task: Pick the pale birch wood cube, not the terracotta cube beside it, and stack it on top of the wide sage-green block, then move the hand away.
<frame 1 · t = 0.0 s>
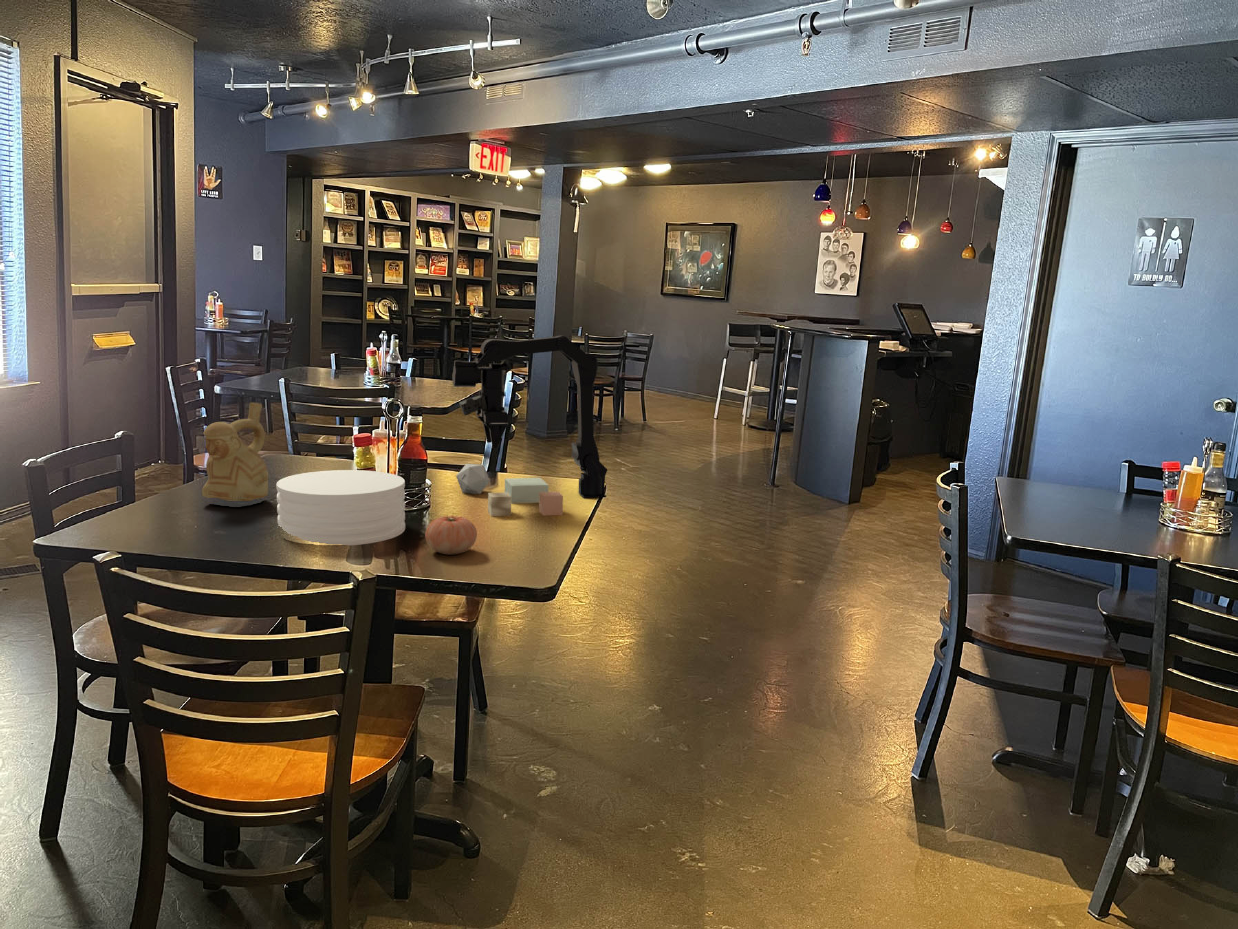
hand: (491, 445, 245), 15 cm above the table, tool pointing down, fingers open, 9 cm apart
die: (472, 493, 255), on the table
plate stack: (342, 531, 211), on the table
birch cube: (499, 514, 231), on the table
ceramic vessel: (240, 503, 233), on the table
terracotta cube: (550, 513, 234), on the table
sage block: (526, 499, 249), on the table
pumpkin: (451, 553, 196), on the table
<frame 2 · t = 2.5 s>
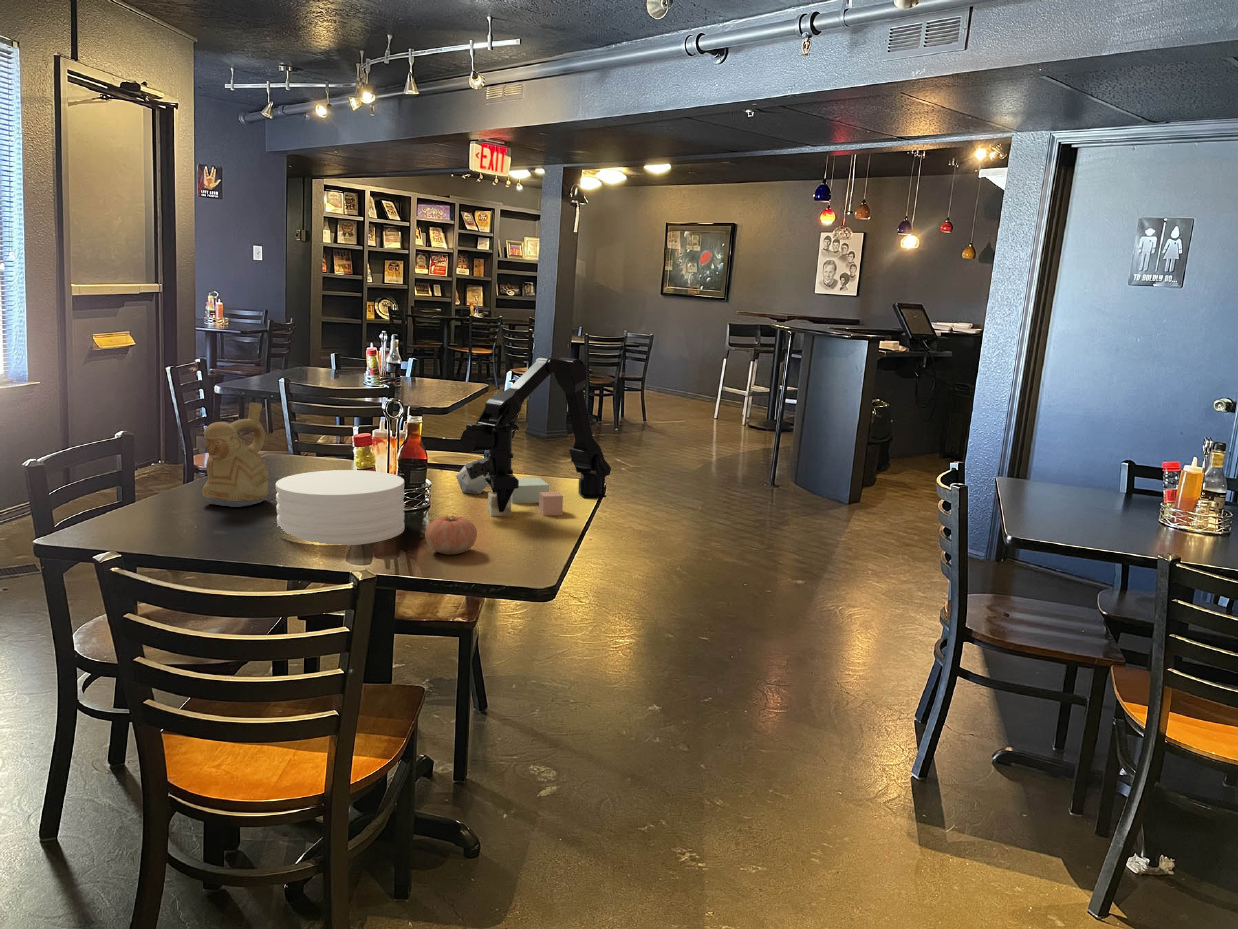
hand: (499, 509, 231), 1 cm above the table, tool pointing down, fingers closed on birch cube, 5 cm apart
birch cube: (499, 513, 231), on the table, touching gripper
everything else where it was.
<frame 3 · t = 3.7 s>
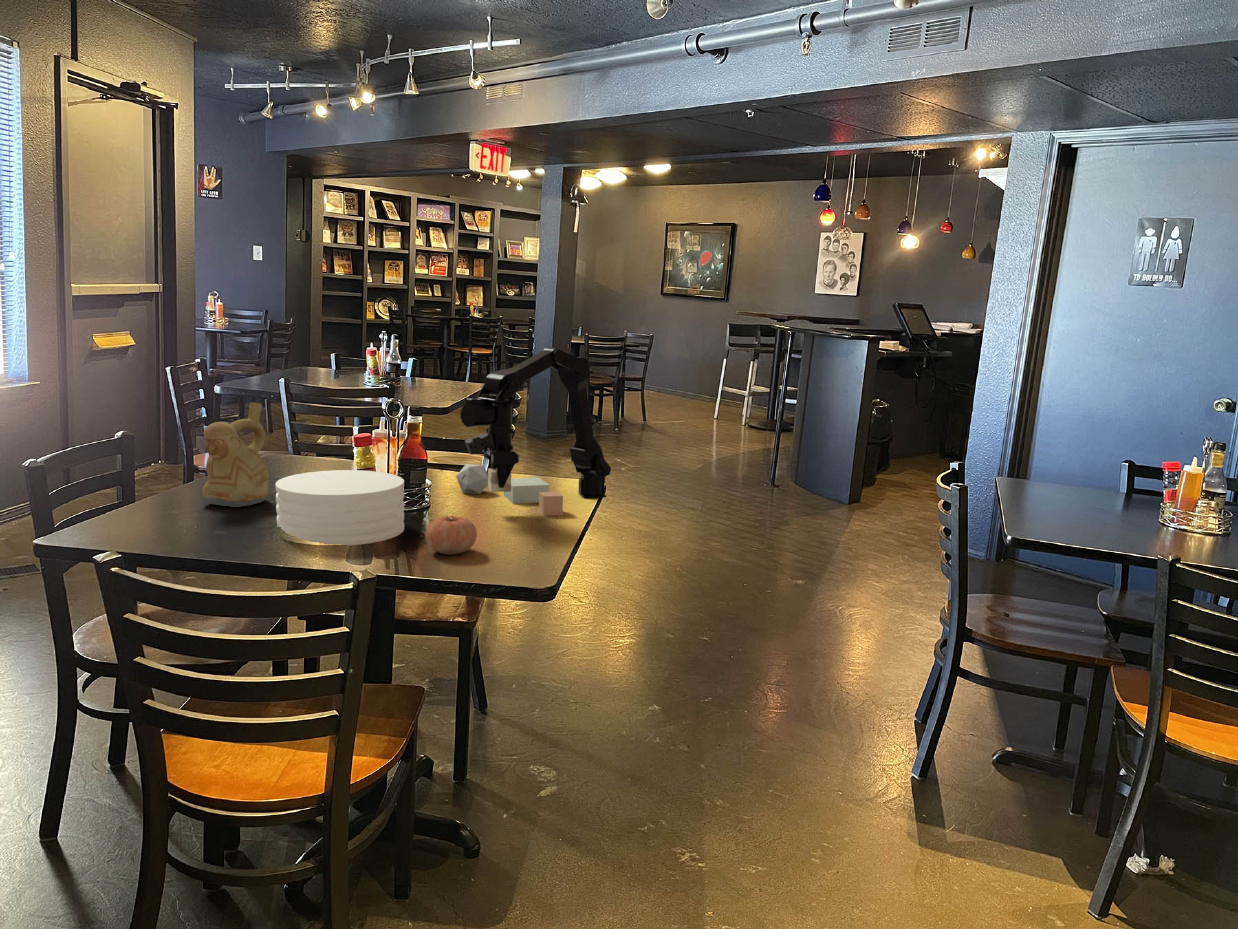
hand: (499, 485, 230), 7 cm above the table, tool pointing down, fingers closed on birch cube, 5 cm apart
birch cube: (499, 489, 230), point 6 cm above the table, touching gripper
everything else where it was.
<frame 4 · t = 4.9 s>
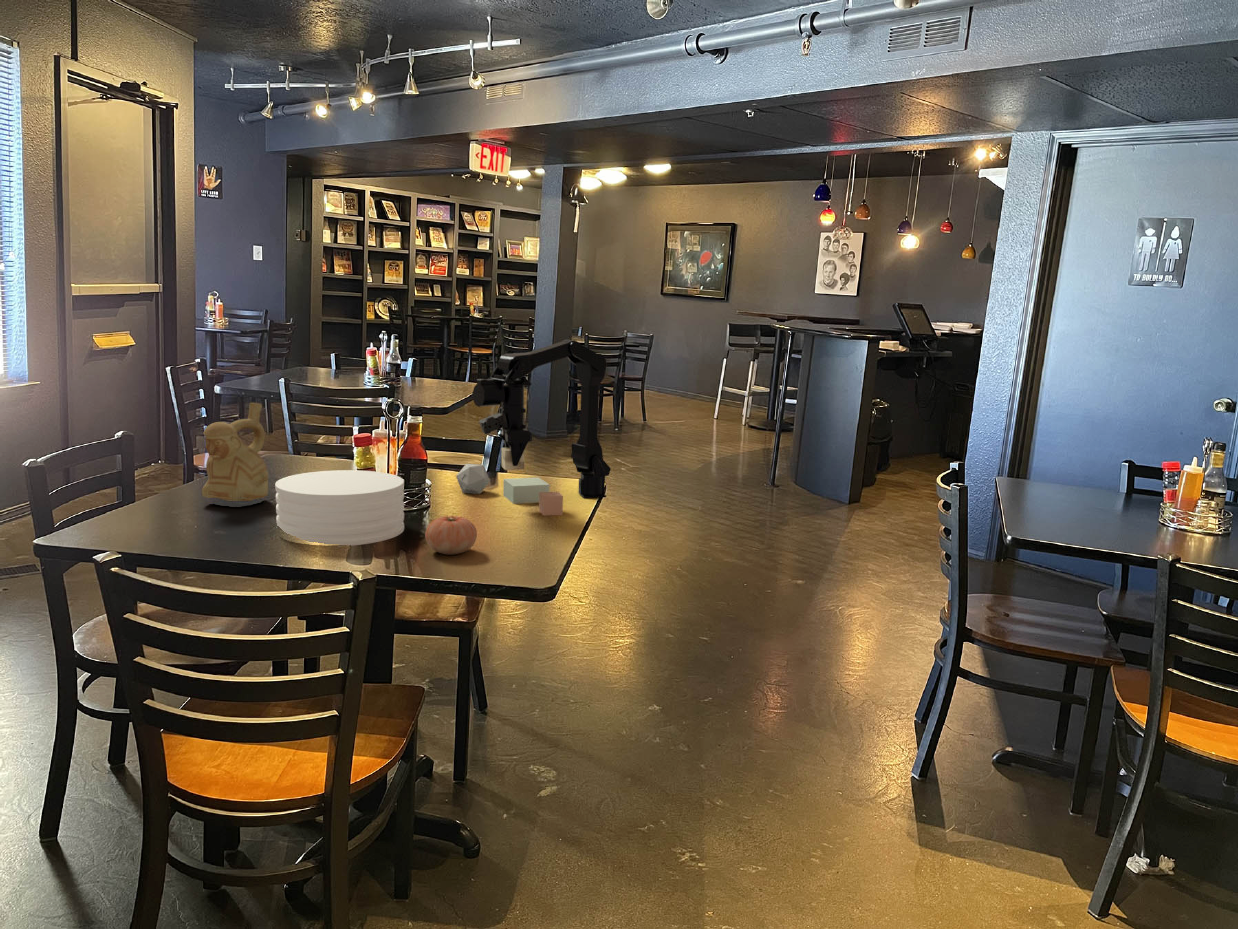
hand: (513, 463, 237), 11 cm above the table, tool pointing down, fingers closed on birch cube, 5 cm apart
birch cube: (512, 467, 237), point 10 cm above the table, touching gripper
everything else where it was.
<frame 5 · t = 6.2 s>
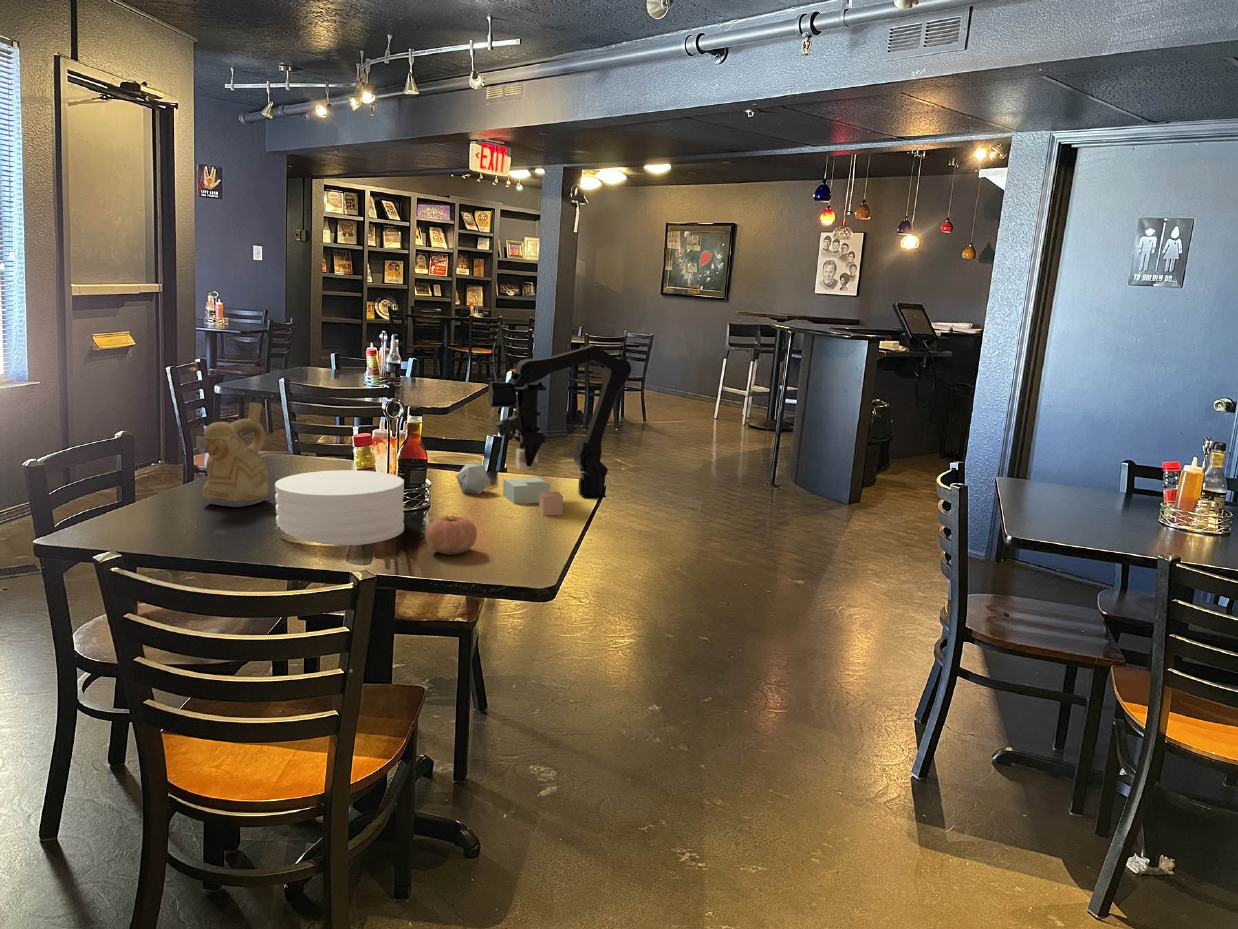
hand: (526, 464, 248), 9 cm above the table, tool pointing down, fingers closed on birch cube, 5 cm apart
birch cube: (526, 468, 248), point 8 cm above the table, touching gripper
everything else where it was.
when the fingers open (7 cm above the table, at t = 7.4 s): birch cube drops 2 cm, resting on sage block.
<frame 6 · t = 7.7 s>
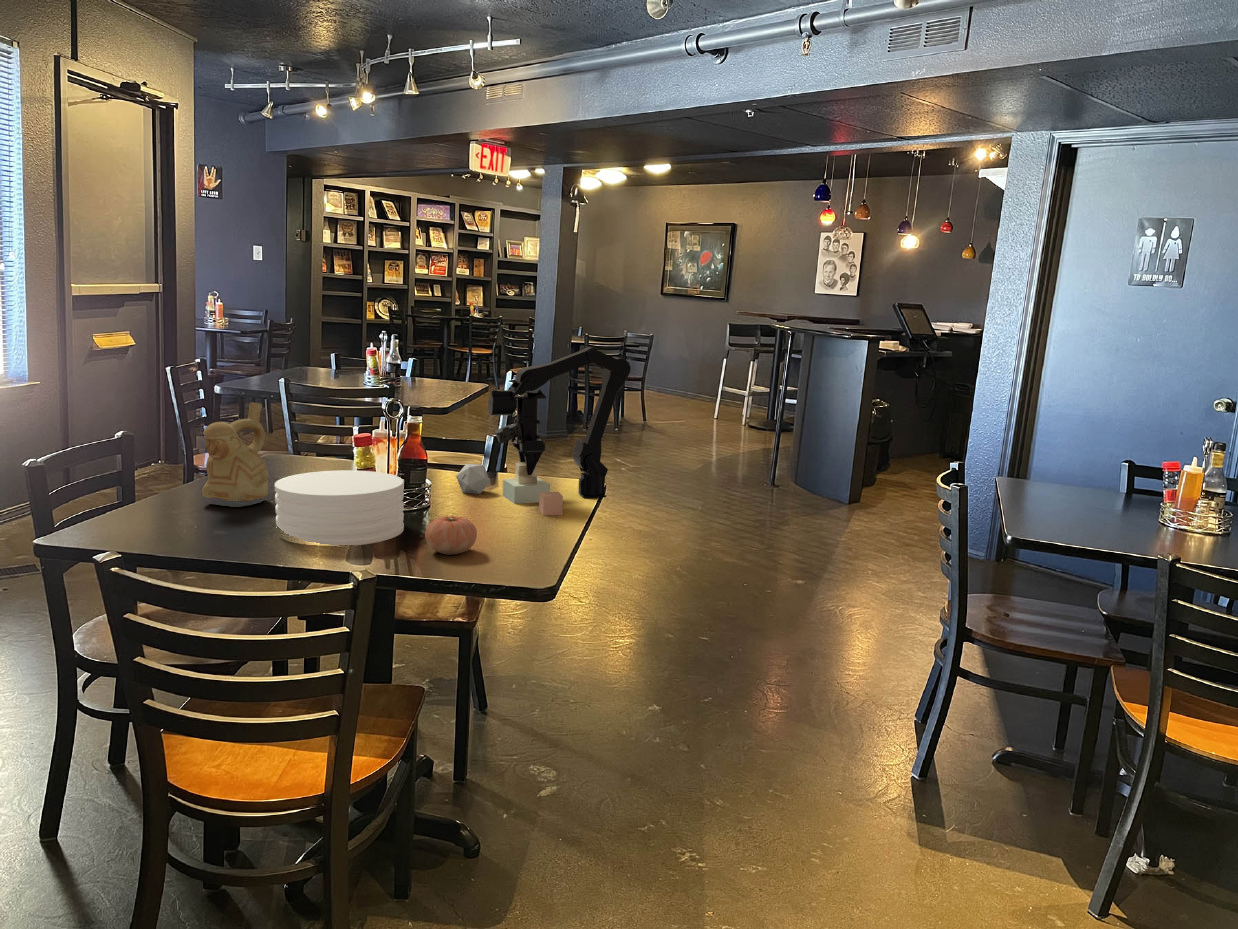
hand: (526, 472, 248), 7 cm above the table, tool pointing down, fingers open, 8 cm apart
birch cube: (526, 481, 248), point 5 cm above the table, touching sage block
sage block: (526, 499, 249), on the table, touching birch cube
everything else where it was.
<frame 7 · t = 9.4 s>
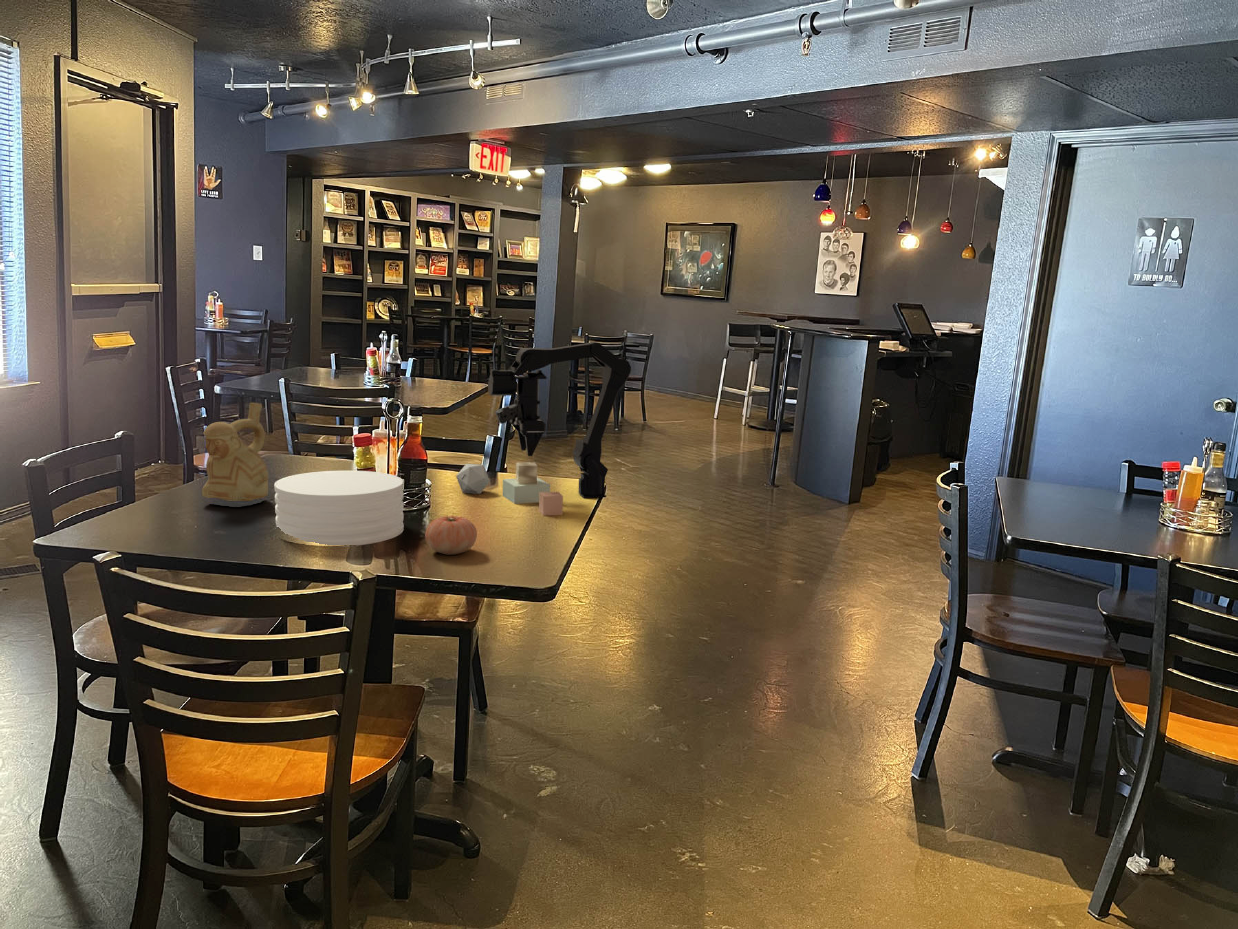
hand: (526, 453, 247), 13 cm above the table, tool pointing down, fingers open, 9 cm apart
nothing on the table moved.
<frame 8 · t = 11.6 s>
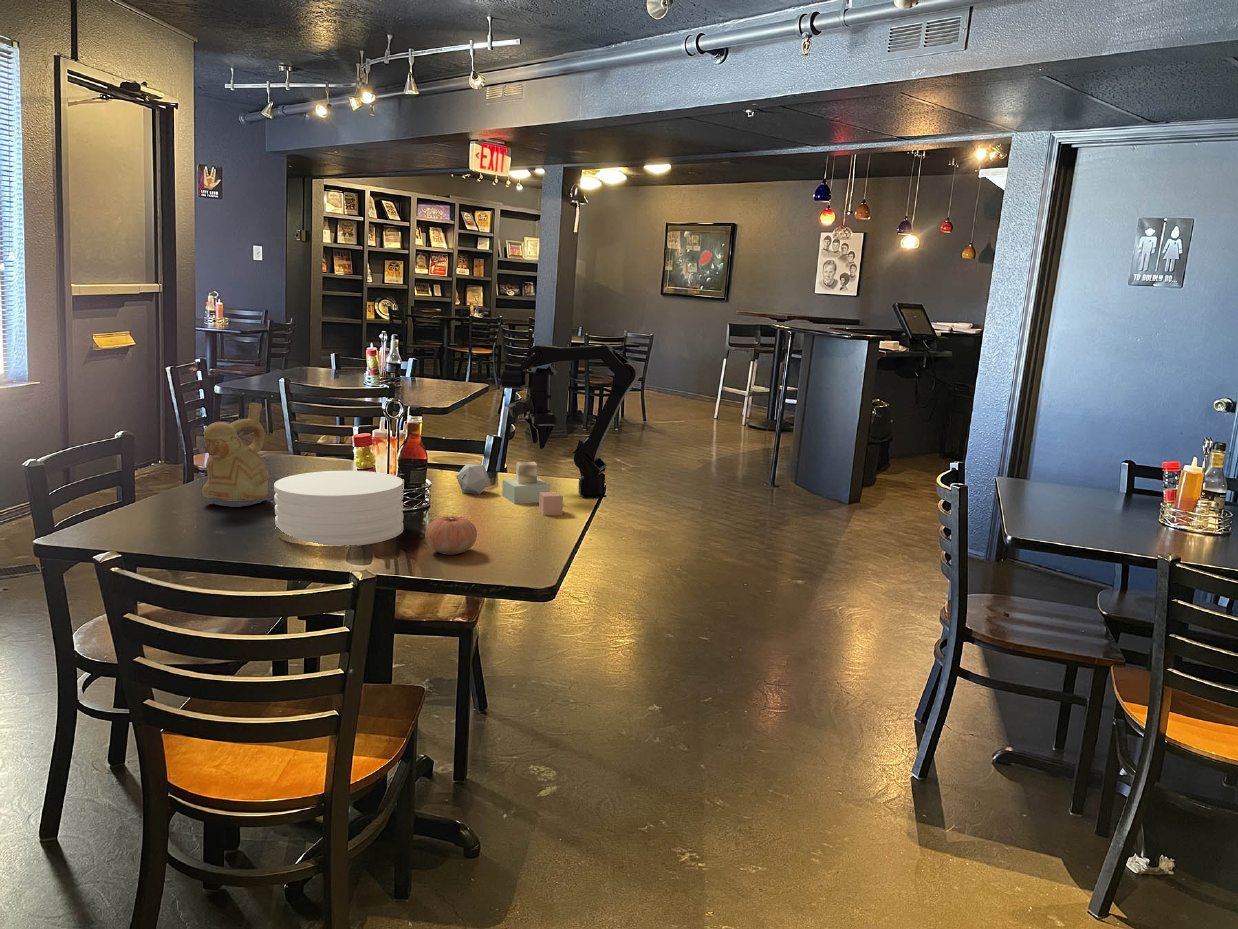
hand: (537, 445, 257), 13 cm above the table, tool pointing down, fingers open, 9 cm apart
birch cube: (526, 481, 249), point 5 cm above the table
sage block: (525, 499, 249), on the table
everything else where it was.
at the end: birch cube 0.2 cm off-centre on the sage block, point 5.0 cm above the sage block's base; birch cube tilted 0°; the gripper is holding nothing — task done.
